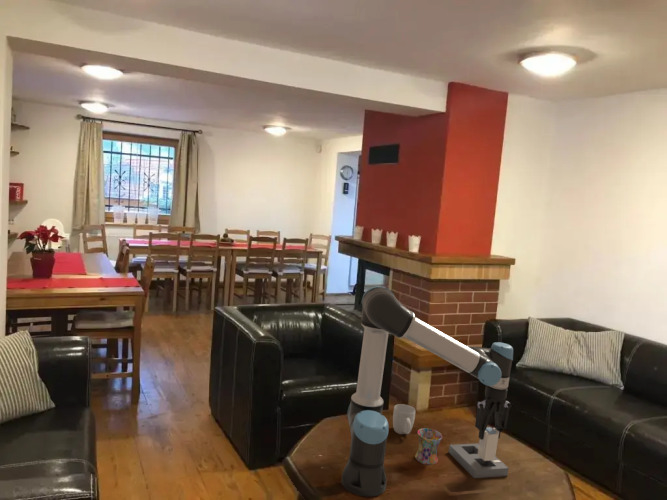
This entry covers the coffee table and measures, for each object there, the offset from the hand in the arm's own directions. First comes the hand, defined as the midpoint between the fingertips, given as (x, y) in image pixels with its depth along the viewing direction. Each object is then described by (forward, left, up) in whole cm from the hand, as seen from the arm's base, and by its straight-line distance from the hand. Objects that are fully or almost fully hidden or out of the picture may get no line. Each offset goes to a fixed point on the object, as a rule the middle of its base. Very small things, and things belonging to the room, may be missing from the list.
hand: (487, 446), depth 189 cm
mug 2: (-18, +12, -10) cm, 24 cm away
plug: (0, 0, -4) cm, 4 cm away
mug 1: (-18, +32, -10) cm, 38 cm away
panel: (0, +5, -10) cm, 11 cm away
